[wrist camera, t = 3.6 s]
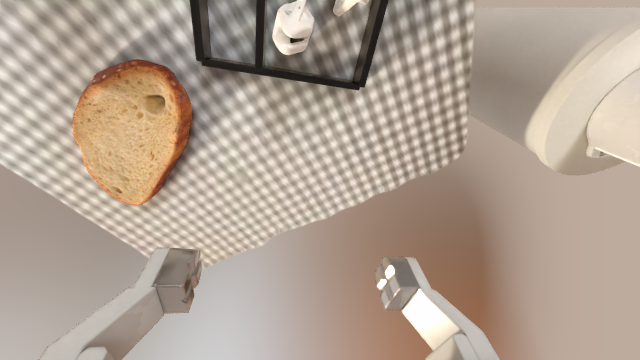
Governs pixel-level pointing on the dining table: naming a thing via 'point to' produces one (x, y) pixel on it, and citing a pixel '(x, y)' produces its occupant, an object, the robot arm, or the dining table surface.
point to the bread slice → (132, 128)
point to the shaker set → (300, 24)
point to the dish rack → (204, 50)
